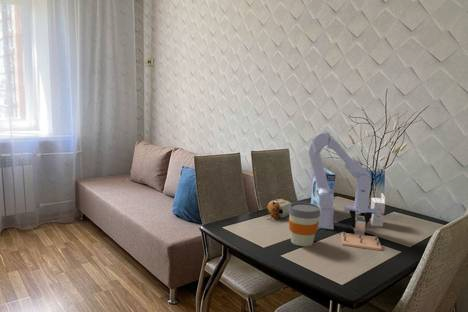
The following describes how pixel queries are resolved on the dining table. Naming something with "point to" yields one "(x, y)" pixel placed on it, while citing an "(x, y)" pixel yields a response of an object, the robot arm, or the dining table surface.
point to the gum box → (315, 193)
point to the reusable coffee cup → (303, 223)
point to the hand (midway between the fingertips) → (358, 227)
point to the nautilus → (278, 208)
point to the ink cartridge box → (380, 205)
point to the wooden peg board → (360, 241)
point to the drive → (359, 225)
